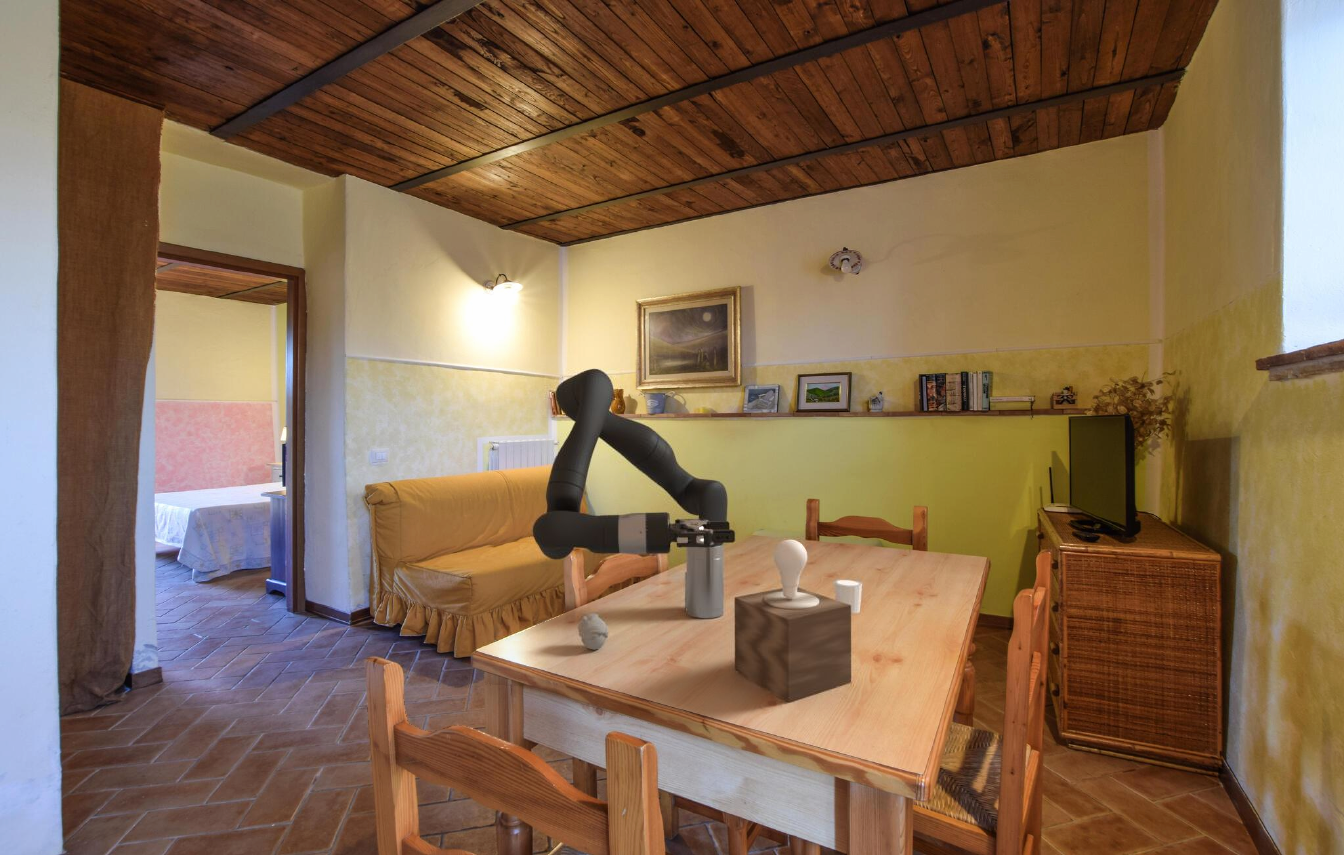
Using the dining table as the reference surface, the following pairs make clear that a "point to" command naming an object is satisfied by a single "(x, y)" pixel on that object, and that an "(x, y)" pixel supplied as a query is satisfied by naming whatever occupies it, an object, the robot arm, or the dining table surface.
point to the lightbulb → (790, 565)
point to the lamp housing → (793, 642)
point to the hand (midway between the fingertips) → (731, 531)
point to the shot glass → (849, 593)
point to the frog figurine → (593, 631)
